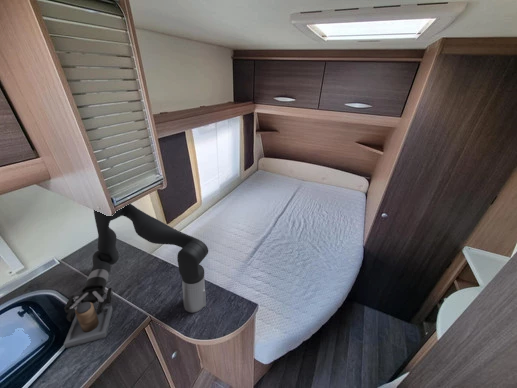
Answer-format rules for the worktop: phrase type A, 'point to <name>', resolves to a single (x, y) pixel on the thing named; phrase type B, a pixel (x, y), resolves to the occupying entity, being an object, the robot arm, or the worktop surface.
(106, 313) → the grey square tray
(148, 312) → the worktop surface
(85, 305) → the wooden cylinder
